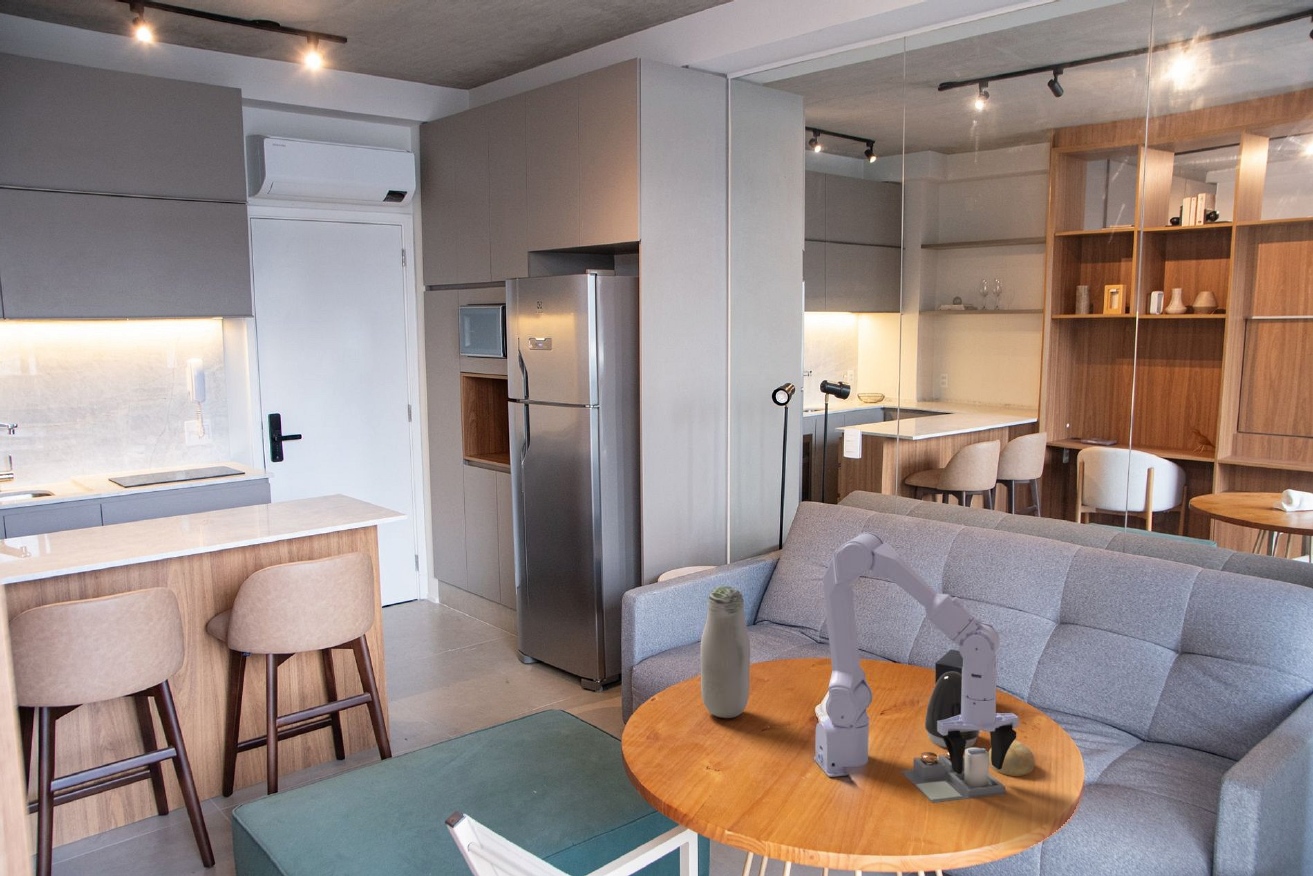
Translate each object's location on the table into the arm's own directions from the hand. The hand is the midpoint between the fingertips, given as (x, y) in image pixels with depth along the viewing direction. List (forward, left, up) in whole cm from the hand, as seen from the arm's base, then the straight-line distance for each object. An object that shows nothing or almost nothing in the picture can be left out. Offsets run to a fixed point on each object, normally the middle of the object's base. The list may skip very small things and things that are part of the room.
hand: (976, 769), depth 165 cm
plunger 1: (-6, +6, -2) cm, 9 cm away
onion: (+10, +5, -5) cm, 12 cm away
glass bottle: (-34, +43, -5) cm, 55 cm away
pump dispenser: (+5, +18, -5) cm, 19 cm away
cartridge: (0, 0, -3) cm, 3 cm away
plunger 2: (-1, +6, -2) cm, 6 cm away
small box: (+17, +38, -5) cm, 42 cm away
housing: (-4, +2, -4) cm, 6 cm away
